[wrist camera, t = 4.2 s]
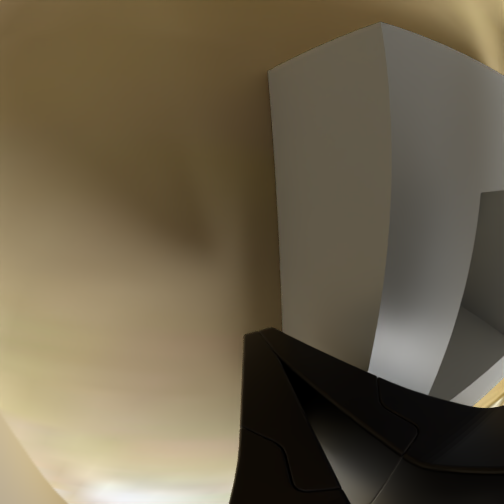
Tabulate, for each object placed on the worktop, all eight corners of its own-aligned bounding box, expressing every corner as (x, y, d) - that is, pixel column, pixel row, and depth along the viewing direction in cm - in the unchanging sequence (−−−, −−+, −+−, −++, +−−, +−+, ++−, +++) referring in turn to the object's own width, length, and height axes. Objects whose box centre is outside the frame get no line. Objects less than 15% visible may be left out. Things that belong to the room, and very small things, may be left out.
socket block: (467, 326, 17) (517, 362, 12) (283, 412, 13) (330, 494, 9) (498, 112, 11) (571, 124, 7) (267, 71, 8) (380, 21, 3)
